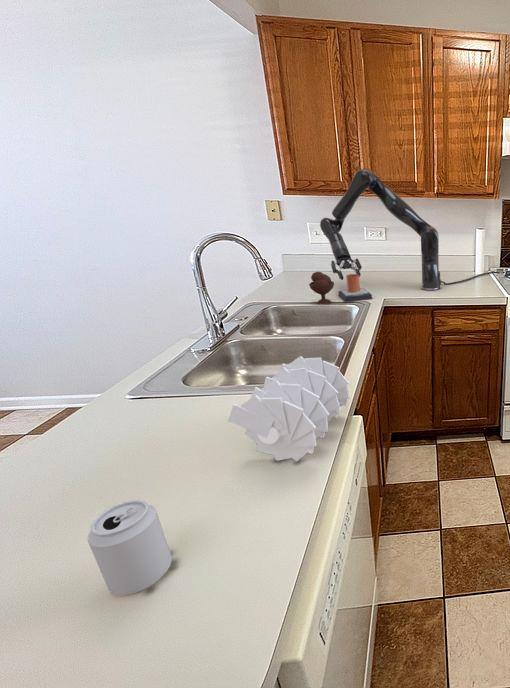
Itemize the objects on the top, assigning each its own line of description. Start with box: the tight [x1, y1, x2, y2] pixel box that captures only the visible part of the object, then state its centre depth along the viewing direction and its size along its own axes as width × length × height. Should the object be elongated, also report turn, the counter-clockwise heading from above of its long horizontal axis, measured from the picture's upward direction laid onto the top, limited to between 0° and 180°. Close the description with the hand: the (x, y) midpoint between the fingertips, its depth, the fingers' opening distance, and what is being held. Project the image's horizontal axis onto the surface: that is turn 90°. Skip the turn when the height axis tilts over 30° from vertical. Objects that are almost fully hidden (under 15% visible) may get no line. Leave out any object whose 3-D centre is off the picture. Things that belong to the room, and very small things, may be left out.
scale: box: [337, 287, 373, 303], centre depth 199 cm, size 13×13×3 cm
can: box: [87, 499, 173, 597], centre depth 58 cm, size 8×8×12 cm
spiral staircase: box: [227, 355, 350, 462], centre depth 90 cm, size 18×18×25 cm
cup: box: [345, 273, 361, 293], centre depth 198 cm, size 6×6×8 cm
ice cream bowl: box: [308, 271, 335, 305], centre depth 188 cm, size 11×11×15 cm
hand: (350, 277), depth 199 cm, fingers open, 8 cm apart
